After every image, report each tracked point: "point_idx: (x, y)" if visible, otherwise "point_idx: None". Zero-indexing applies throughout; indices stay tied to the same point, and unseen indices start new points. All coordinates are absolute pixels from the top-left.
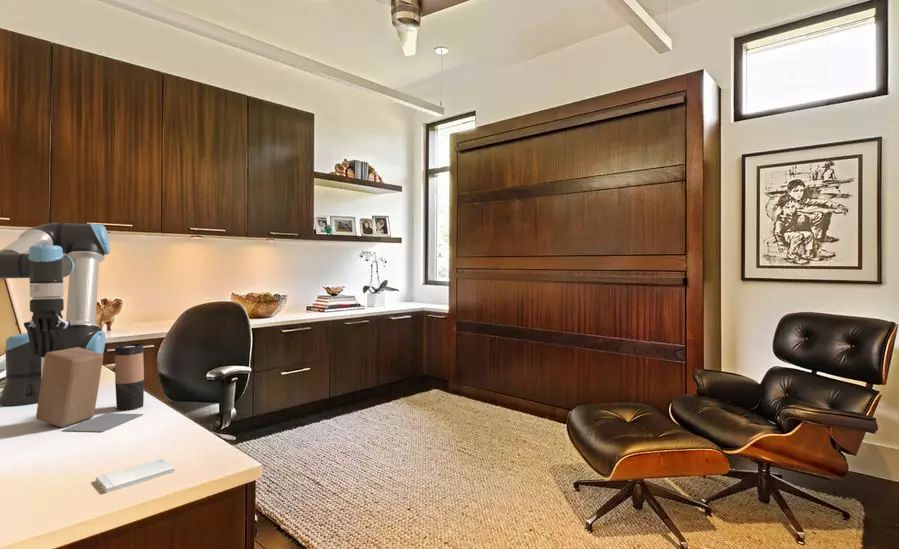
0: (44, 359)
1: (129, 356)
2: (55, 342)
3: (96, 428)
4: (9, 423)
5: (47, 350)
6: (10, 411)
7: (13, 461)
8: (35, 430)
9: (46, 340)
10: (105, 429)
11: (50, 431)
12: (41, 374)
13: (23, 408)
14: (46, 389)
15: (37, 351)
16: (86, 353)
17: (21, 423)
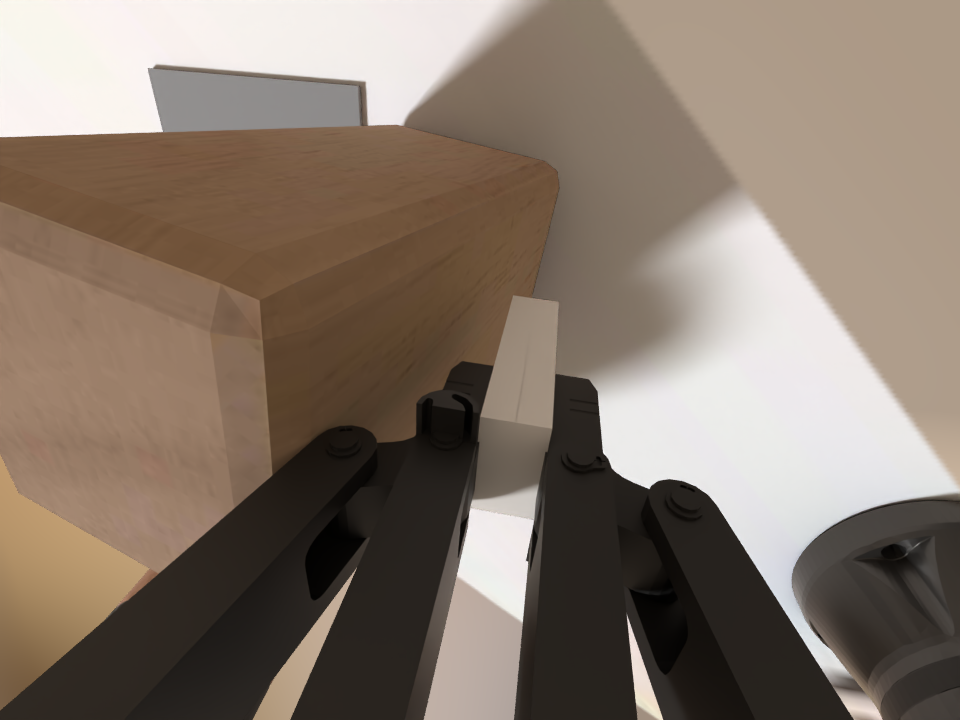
0: (502, 403)
1: (131, 591)
2: (204, 583)
3: (212, 112)
4: (759, 228)
5: (436, 491)
6: (895, 422)
7: None
8: (514, 100)
9: (398, 675)
10: (159, 97)
11: (418, 83)
12: (555, 321)
13: (853, 459)
14: (426, 170)
15: (645, 530)
16: (31, 445)
17: (688, 225)
